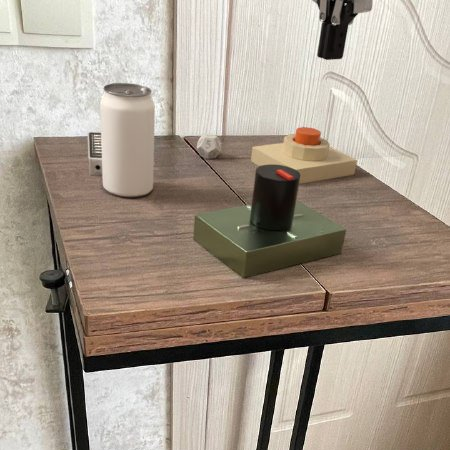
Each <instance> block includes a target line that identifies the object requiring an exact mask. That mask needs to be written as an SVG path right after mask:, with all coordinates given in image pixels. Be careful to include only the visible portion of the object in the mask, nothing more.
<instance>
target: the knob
mask: <svg viewBox="0 0 450 450" xmlns="http://www.w3.org/2000/svg"><path fill="white" fill-rule="evenodd" d="M299 182H300V173H299V172H298V171H297V170H295V169H293V168H290V167H287V166H283V165H274V164H269V165H262V166H257V167H256V169H255V174H254V182H253V188H252V189H253V191H252V199H251V204H252V206H251V214H250V221H251V222H252V223H253V224H254V225H256V226H258V227H260V228H263V229H268V230H285V229H288V228H290V227H291V226H292V224H293V218H294V212H295V206H296V200H298V193H299V188H300V187H299V186H300V184H299Z"/></svg>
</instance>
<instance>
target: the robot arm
mask: <svg viewBox="0 0 450 450" xmlns="http://www.w3.org/2000/svg"><path fill="white" fill-rule="evenodd" d="M311 1H312V2H313V3H315V4H316V5H317V8H318V10H319V12H318V13H319V15H318V20H319V22H321V27H320V33H319V40H318V47H317V53H316V55H317V57H318V58H320V59H323V60H326V61H332V60H342V59H343V57H344V53H345V49H346V48H345V47H346V41H347V35H348V30H349V26H352V25H353V23H354V20H355V18H356V17H357V16H358V15H359V14H365V13H370V12H371V11H372V9H373V2H374V1H373V0H311Z"/></svg>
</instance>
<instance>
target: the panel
mask: <svg viewBox="0 0 450 450" xmlns="http://www.w3.org/2000/svg"><path fill="white" fill-rule="evenodd" d="M251 206H252V203H250V204H243V205H238V206H233V207H228V208H227V207H226V208H222V209H217V210H212V211H206V212H201V213H196V214H194V220H193V221H194V222H193V223H194V224H193V241H195V242H196V243H197V244H199V245H200V246H201V247H203V248H204V249H205V250H207V252H209V253H211V254H212V255H213V256H214V257H216V258H217V259H218V260H220V262H222V263H223V264H225V265H226V266H227V267H228V268H229V269H231V270H232V271H233V272H235V273H236V274H238V275H239V276H240V277H241V278H243V279H244V278H250V277H254V276H257V275H260V274H261V275H262V274H264V273H269V272H273V271H277V270H281V269H284V268H289V267H292V266H296V265H300V264H304V263H308V262H313V261H316V260H320V259H324V258H328V257H332V256H336V255H340V254H342V252H343V247H344V243H345V237H346V233H347V228H345V227H344V226H342V225H341V224H339V223H337V222H336V221H334V220H332V219H330V218H329V217H327V216H325V215H323V214H322V213H320V212H318V211H316V210H315V209H314V208H311V207H310V206H308V205H307V204H305V203H304V202H301V200H298V199H297V200H296V206H295V212H294V218H293V224H292V226H291V227H290V228H288V229H285V230H268V229H263V228H260V227H258V226H256V225H254V224H253V223H252V222H251V221H250V214H251Z"/></svg>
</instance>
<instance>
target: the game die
mask: <svg viewBox="0 0 450 450" xmlns="http://www.w3.org/2000/svg"><path fill="white" fill-rule="evenodd" d="M196 144H197V145H196V150H197V152H198V154H199V156H200V157H202V158H205V159H207V160H209V159H210V160H211V159H216V158H217V157H218V156H219V154H220V153H221V151H222V150H221V149H222V143H221V140H220V139H219V137H218V135H216V134H213V133H203V134H202V135H201V136H200V138H199V139H198V141H197V143H196Z"/></svg>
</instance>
